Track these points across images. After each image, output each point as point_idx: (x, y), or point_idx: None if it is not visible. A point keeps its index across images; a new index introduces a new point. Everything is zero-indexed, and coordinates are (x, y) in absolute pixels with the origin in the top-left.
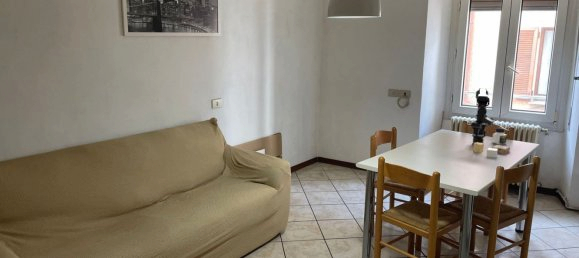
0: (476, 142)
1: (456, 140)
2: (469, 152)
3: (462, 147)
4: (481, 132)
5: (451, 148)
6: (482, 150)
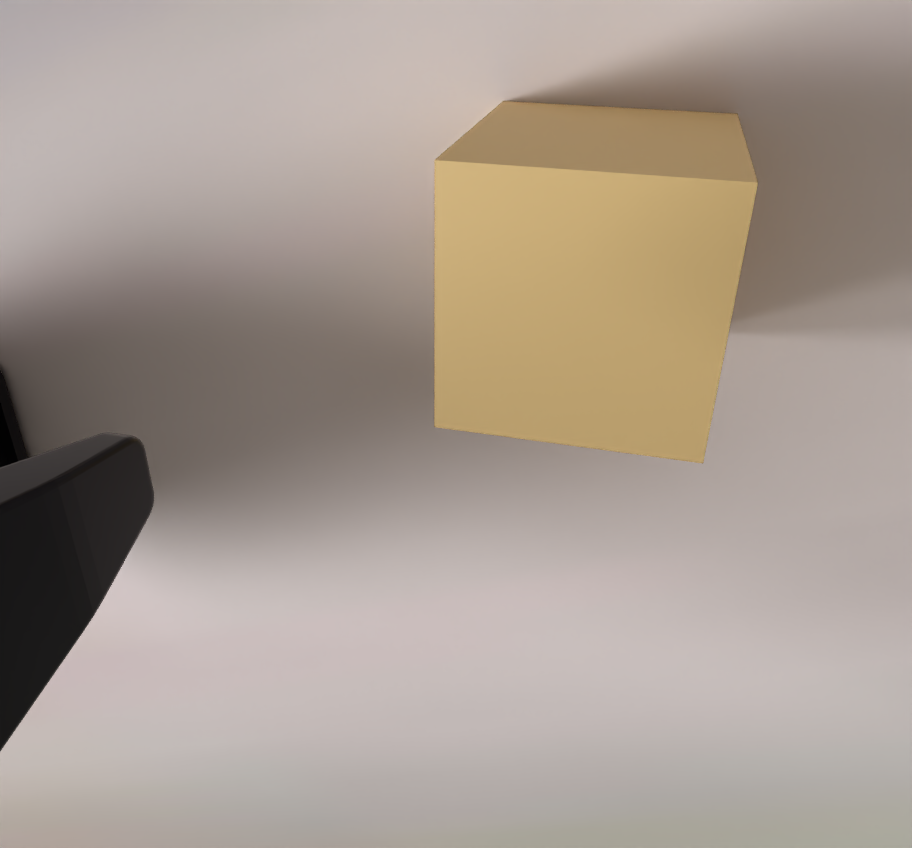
0: (480, 421)
1: (31, 762)
2: (891, 376)
3: (444, 612)
4: (98, 562)
5: (703, 758)
6: (536, 110)
